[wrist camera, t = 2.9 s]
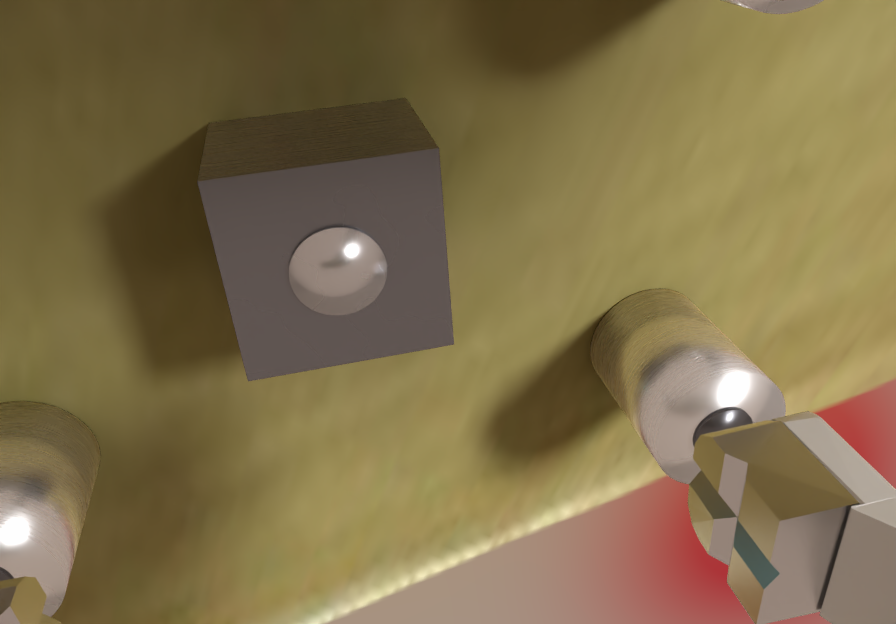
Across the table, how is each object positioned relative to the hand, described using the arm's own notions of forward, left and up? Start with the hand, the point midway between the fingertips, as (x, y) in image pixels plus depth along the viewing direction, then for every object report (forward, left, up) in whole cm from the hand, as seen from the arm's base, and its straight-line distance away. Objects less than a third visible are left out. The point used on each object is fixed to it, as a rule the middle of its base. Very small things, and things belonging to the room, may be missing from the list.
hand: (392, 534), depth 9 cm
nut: (0, 0, -11) cm, 11 cm away
